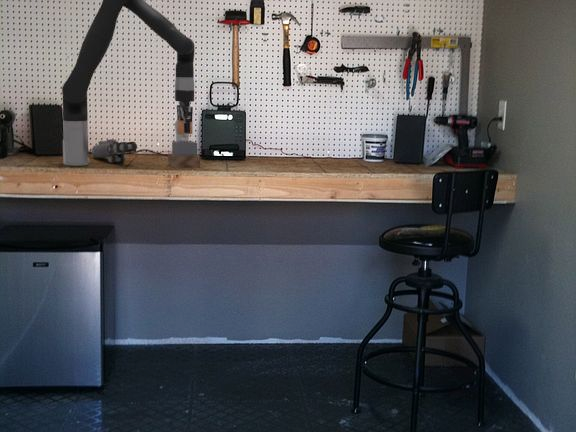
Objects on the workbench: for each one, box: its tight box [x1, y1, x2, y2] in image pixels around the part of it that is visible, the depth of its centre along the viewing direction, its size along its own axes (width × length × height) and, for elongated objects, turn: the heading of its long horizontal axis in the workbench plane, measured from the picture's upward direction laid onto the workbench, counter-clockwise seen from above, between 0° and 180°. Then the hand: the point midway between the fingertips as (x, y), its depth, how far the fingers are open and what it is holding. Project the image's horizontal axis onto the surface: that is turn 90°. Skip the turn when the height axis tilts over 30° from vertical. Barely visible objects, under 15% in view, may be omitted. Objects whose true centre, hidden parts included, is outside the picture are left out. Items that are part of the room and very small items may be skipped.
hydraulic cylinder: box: [91, 138, 138, 164], centre depth 310 cm, size 7×37×10 cm, turn 37°
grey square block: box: [171, 140, 198, 156], centre depth 302 cm, size 8×8×5 cm
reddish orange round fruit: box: [176, 120, 193, 135], centre depth 300 cm, size 6×6×5 cm
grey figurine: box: [174, 119, 190, 141], centre depth 324 cm, size 6×7×20 cm
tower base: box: [167, 152, 201, 169], centre depth 303 cm, size 10×10×5 cm
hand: (184, 132), depth 301 cm, fingers closed on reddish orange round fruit, 6 cm apart
